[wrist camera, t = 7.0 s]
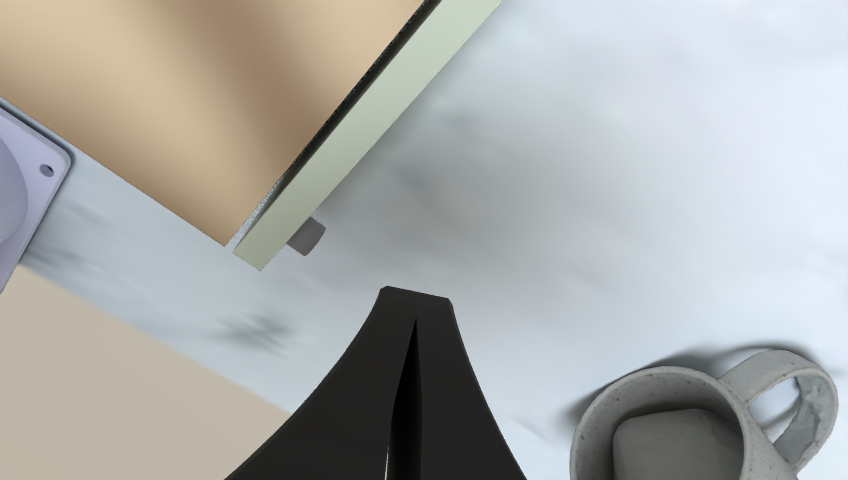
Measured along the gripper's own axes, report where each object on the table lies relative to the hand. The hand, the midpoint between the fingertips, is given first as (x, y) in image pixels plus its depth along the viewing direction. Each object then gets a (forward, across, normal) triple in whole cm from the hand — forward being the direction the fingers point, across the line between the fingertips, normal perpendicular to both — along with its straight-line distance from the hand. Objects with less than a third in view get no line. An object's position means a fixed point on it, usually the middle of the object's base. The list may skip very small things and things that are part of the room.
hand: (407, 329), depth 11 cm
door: (+10, +2, -1) cm, 10 cm away
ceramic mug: (+10, -15, +10) cm, 20 cm away
